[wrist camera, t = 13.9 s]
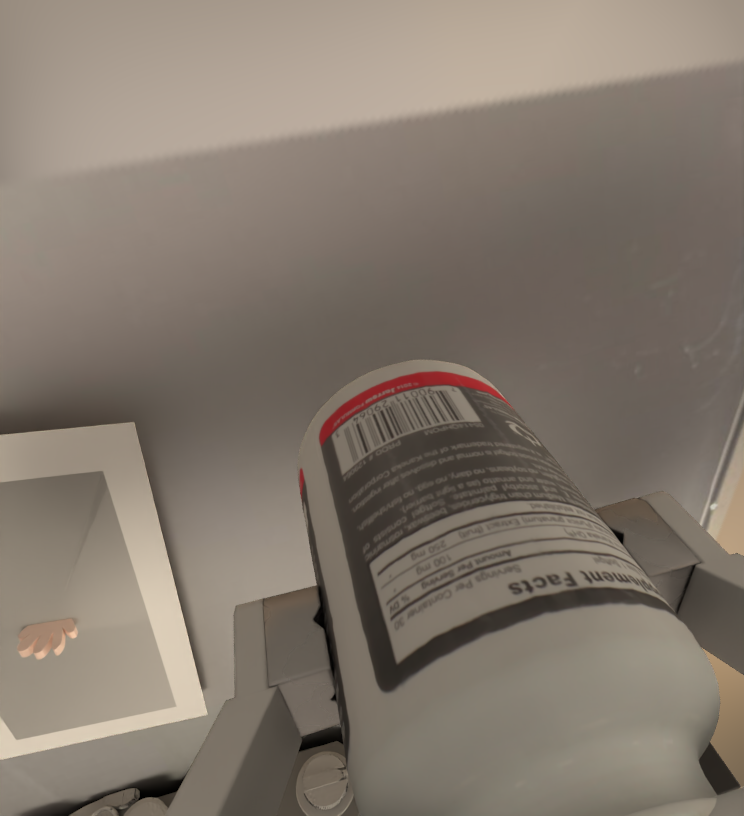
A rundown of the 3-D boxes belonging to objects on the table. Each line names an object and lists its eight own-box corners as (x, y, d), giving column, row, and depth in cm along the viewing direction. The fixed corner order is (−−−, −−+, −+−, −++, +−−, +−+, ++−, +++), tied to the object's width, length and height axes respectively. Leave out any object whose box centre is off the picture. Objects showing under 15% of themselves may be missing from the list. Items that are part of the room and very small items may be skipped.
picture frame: (138, 399, 15) (129, 448, 13) (207, 688, 23) (207, 741, 21) (-208, 429, 13) (-272, 490, 11) (4, 731, 21) (-15, 792, 20)
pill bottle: (454, 533, 15) (694, 1048, 8) (270, 518, 13) (336, 1193, 6) (544, 374, 13) (1050, 905, 5) (333, 327, 11) (617, 1079, 3)
